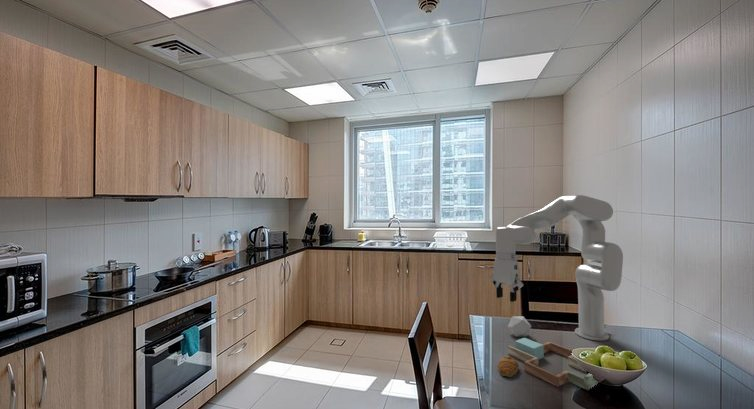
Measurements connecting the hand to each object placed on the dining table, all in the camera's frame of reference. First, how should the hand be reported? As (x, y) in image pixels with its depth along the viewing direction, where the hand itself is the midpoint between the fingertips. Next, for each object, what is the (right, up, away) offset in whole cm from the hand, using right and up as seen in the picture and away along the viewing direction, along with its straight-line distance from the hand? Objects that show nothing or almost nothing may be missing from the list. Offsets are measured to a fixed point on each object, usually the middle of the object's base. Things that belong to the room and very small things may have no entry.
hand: (506, 298), depth 131 cm
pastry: (-8, -20, -20) cm, 29 cm away
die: (+10, -20, +10) cm, 25 cm away
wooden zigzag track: (+10, -19, -17) cm, 27 cm away
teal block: (+5, -20, -9) cm, 22 cm away
